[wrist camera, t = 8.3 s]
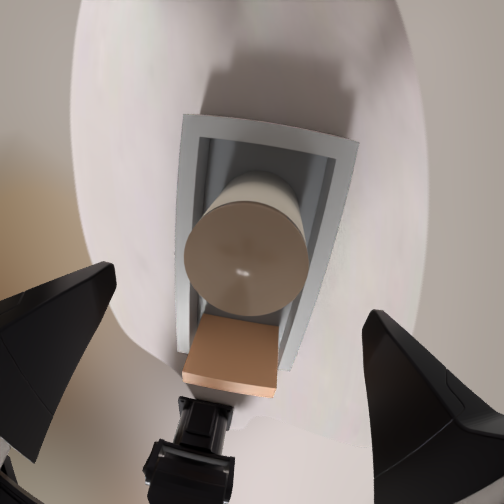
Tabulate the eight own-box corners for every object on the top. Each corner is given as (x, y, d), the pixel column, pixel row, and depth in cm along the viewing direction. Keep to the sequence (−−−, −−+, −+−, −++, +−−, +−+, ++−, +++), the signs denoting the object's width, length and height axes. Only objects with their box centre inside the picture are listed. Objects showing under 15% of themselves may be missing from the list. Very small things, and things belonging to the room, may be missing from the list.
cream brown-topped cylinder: (306, 178, 16) (322, 218, 10) (290, 252, 18) (292, 324, 12) (223, 165, 16) (186, 196, 10) (215, 239, 18) (183, 304, 12)
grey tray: (290, 345, 23) (290, 387, 19) (187, 327, 23) (171, 366, 19) (345, 138, 15) (368, 145, 11) (199, 114, 15) (172, 113, 11)
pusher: (275, 337, 22) (272, 398, 16) (202, 324, 22) (182, 381, 17) (278, 326, 21) (276, 388, 16) (203, 313, 21) (182, 371, 16)
